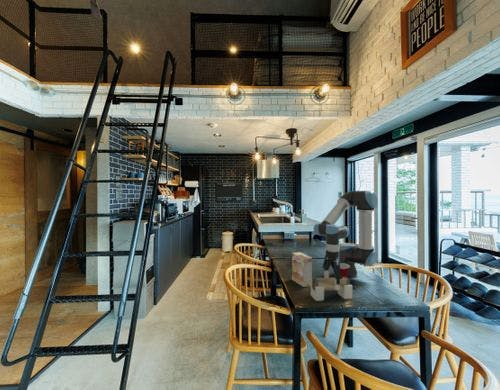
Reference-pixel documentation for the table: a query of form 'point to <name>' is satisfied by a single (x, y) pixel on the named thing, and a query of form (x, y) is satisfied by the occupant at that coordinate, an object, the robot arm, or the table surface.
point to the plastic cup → (344, 269)
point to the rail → (329, 283)
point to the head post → (317, 293)
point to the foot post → (346, 292)
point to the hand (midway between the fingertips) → (331, 285)
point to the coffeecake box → (302, 269)
